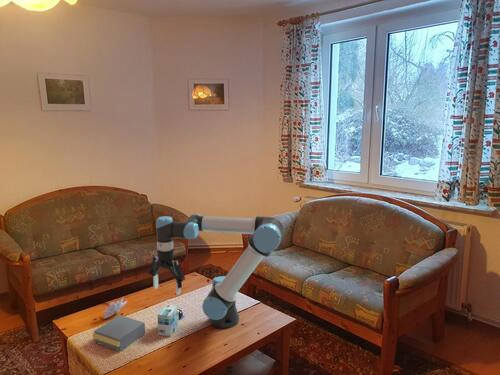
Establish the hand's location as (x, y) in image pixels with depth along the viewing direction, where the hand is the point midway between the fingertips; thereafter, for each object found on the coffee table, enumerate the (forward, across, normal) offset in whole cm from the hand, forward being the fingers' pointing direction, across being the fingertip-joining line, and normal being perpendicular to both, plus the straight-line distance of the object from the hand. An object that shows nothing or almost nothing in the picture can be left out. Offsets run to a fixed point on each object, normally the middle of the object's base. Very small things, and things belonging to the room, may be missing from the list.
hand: (167, 291), depth 183 cm
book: (+21, -16, -16) cm, 30 cm away
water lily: (+21, -34, -2) cm, 40 cm away
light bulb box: (+21, 0, 0) cm, 21 cm away
